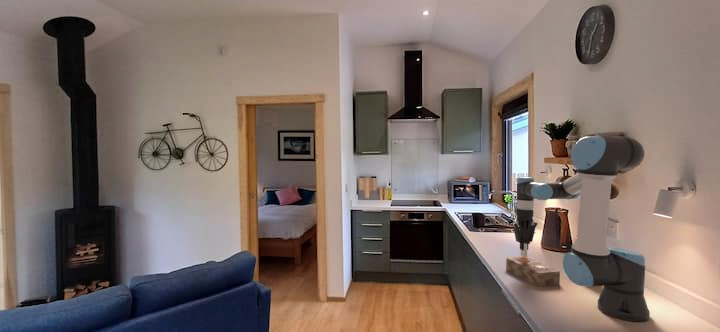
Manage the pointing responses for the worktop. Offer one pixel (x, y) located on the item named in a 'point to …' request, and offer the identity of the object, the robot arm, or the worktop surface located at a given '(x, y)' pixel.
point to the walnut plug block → (533, 272)
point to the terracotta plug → (523, 259)
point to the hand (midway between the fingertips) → (523, 256)
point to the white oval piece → (540, 267)
